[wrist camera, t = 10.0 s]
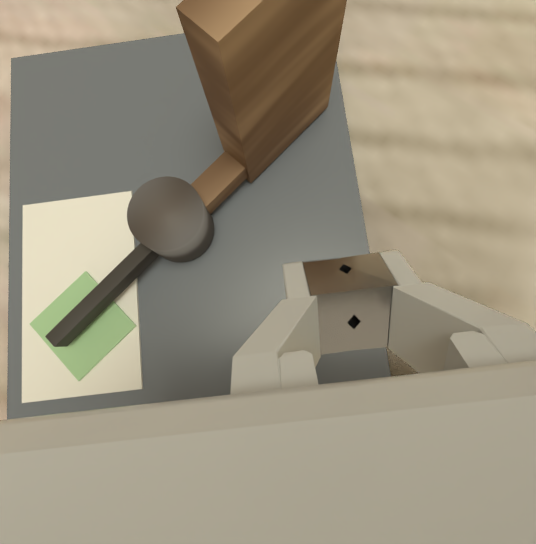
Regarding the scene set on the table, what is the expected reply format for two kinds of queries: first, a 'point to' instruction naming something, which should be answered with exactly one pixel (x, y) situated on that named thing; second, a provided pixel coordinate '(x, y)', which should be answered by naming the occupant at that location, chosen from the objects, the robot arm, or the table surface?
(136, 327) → the tuner board
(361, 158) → the table surface
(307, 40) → the lever
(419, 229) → the table surface
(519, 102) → the table surface
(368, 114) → the table surface
